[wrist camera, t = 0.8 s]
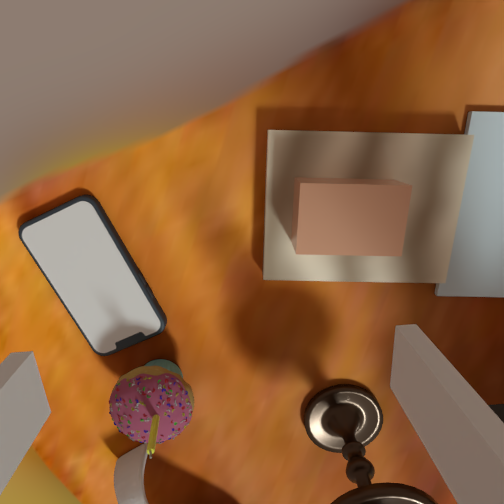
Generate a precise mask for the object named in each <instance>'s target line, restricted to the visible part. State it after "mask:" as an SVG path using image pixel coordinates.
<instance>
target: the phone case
mask: <svg viewBox="0 0 504 504" xmlns="http://www.w3.org/2000/svg"><path fill="white" fill-rule="evenodd" d="M19 237H20V239H21V241H22V243H23V244H24V246H25V247H26V249H27V250H28V252H29V253H30V255H31V256H32V258H33V259H34V261H35V262H36V264H37V266H38V267H39V269H40V270H41V272H42V273H43V275H44V276H45V278H46V279H47V281H48V282H49V284H50V285H51V287H52V288H53V290H54V291H55V293H56V294H57V296H58V298H59V299H60V301H61V302H62V304H63V305H64V307H65V308H66V310H67V311H68V313H69V314H70V316H71V317H72V319H73V320H74V322H75V323H76V325H77V326H78V328H79V330H80V331H81V333H82V334H83V336H84V337H85V339H86V340H87V342H88V343H89V345H90V346H91V348H92V349H93V351H94V352H95V353H96V354H98V355H101V356H108V355H111V354H113V353H115V352H118V351H120V350H123V349H125V348H127V347H130V346H132V345H134V344H137V343H139V342H141V341H144V340H146V339H148V338H151V337H153V336H156V335H158V334H160V333H161V332H162V331H163V330H164V328H165V326H166V324H167V318H166V315H165V314H164V312H163V310H162V308H161V307H160V305H159V303H158V301H157V300H156V298H155V296H154V294H153V293H152V291H151V289H150V287H149V286H148V284H147V283H146V280H145V279H144V277H143V275H142V273H141V272H140V271H139V269H138V267H137V265H136V264H135V262H134V260H133V259H132V257H131V255H130V253H129V252H128V250H127V248H126V247H125V245H124V243H123V242H122V240H121V238H120V236H119V235H118V233H117V231H116V230H115V228H114V226H113V224H112V223H111V221H110V219H109V218H108V216H107V214H106V213H105V211H104V209H103V207H102V206H101V204H100V202H99V201H98V200H97V199H96V198H95V197H93V196H91V195H82V196H79V197H76V198H74V199H72V200H70V201H68V202H66V203H64V204H62V205H60V206H58V207H56V208H54V209H52V210H50V211H48V212H46V213H43V214H41V215H39V216H37V217H35V218H33V219H31V220H29V221H27V222H25V223H23V224H22V225H21V226H20V228H19Z"/></svg>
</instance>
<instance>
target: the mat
mask: <svg viewBox="0 0 504 504" xmlns="http://www.w3.org/2000/svg"><path fill="white" fill-rule="evenodd" d="M464 135H474V140H473V145H472V150H471V155H470V160H469V165H468V170H467V175H466V181H465V186H464V191H463V196H462V201H461V206H460V211H459V216H458V222H457V227H456V232H455V237H454V242H453V247H452V252H451V257H450V262H449V268H448V273H447V278H446V283H436V288H435V293H434V294H435V295H436V296H461V297H504V112H479V111H471V112H468V117H467V122H466V128H465V133H464Z"/></svg>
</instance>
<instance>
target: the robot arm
mask: <svg viewBox="0 0 504 504" xmlns="http://www.w3.org/2000/svg"><path fill="white" fill-rule="evenodd" d="M390 388H391V389H392V391H393V393H394V395H395V396H396V398H397V400H398V401H399V403H400V405H401V407H402V408H403V410H404V412H405V414H406V415H407V417H408V419H409V420H410V422H411V424H412V426H413V427H414V429H415V431H416V432H417V434H418V436H419V438H420V439H421V441H422V443H423V444H424V446H425V448H426V450H427V451H428V453H429V455H430V457H431V458H432V460H433V462H434V463H435V465H436V467H437V469H438V470H439V472H440V474H441V475H442V477H443V479H444V481H445V482H446V484H447V486H448V488H449V489H450V491H451V493H452V494H453V496H454V498H455V500H456V501H457V503H458V504H504V404H496V405H487V404H486V403H485V401H484V400H483V399H482V398H481V397H480V396H479V395H478V394H477V392H476V391H475V390H474V389H473V388H472V387H471V386H470V384H469V383H468V382H467V381H466V380H465V379H464V378H463V377H462V375H461V374H460V373H459V372H458V371H457V370H456V369H455V367H454V366H453V365H452V364H451V363H450V362H449V361H448V360H447V358H446V357H445V356H444V355H443V354H442V353H441V352H440V350H439V349H438V348H437V347H436V346H435V345H434V344H433V343H432V341H431V340H430V339H429V338H428V337H427V336H426V335H425V333H424V332H423V331H422V330H421V329H420V328H419V327H418V326H417V324H411V325H397V326H396V327H395V338H394V349H393V360H392V370H391V381H390ZM50 413H51V411H50V407H49V404H48V401H47V397H46V394H45V390H44V387H43V384H42V380H41V377H40V374H39V370H38V367H37V364H36V360H35V357H34V354H33V351H30V352H16V353H10V355H9V356H8V357H7V358H6V359H5V360H4V361H3V362H2V363H1V364H0V495H1V493H2V491H3V490H4V488H5V486H6V485H7V483H8V482H9V480H10V478H11V477H12V475H13V473H14V472H15V470H16V468H17V467H18V465H19V464H20V462H21V460H22V459H23V457H24V456H25V454H26V452H27V451H28V449H29V447H30V446H31V444H32V443H33V441H34V439H35V438H36V436H37V434H38V433H39V431H40V430H41V428H42V426H43V425H44V423H45V421H46V420H47V418H48V417H49V415H50Z"/></svg>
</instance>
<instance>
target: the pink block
mask: <svg viewBox="0 0 504 504" xmlns="http://www.w3.org/2000/svg"><path fill="white" fill-rule="evenodd" d="M411 192H412V185H409V184H406V183H403V182H400V181H397V180H394V179H350V178H306V177H295V179H294V197H293V214H292V232H291V243H292V245H293V248H294V251H295V253H296V254H301V255H352V256H402V250H403V244H404V237H405V231H406V224H407V218H408V211H409V205H410V198H411Z"/></svg>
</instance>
